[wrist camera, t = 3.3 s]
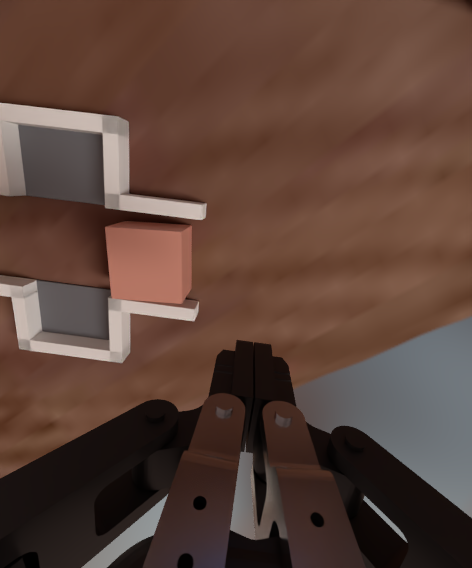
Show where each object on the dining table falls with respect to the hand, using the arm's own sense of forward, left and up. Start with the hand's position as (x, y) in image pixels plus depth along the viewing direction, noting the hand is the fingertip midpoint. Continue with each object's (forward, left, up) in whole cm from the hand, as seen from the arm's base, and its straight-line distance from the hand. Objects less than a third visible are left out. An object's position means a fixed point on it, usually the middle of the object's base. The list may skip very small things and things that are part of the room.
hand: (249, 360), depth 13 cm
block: (+9, 0, -15) cm, 18 cm away
